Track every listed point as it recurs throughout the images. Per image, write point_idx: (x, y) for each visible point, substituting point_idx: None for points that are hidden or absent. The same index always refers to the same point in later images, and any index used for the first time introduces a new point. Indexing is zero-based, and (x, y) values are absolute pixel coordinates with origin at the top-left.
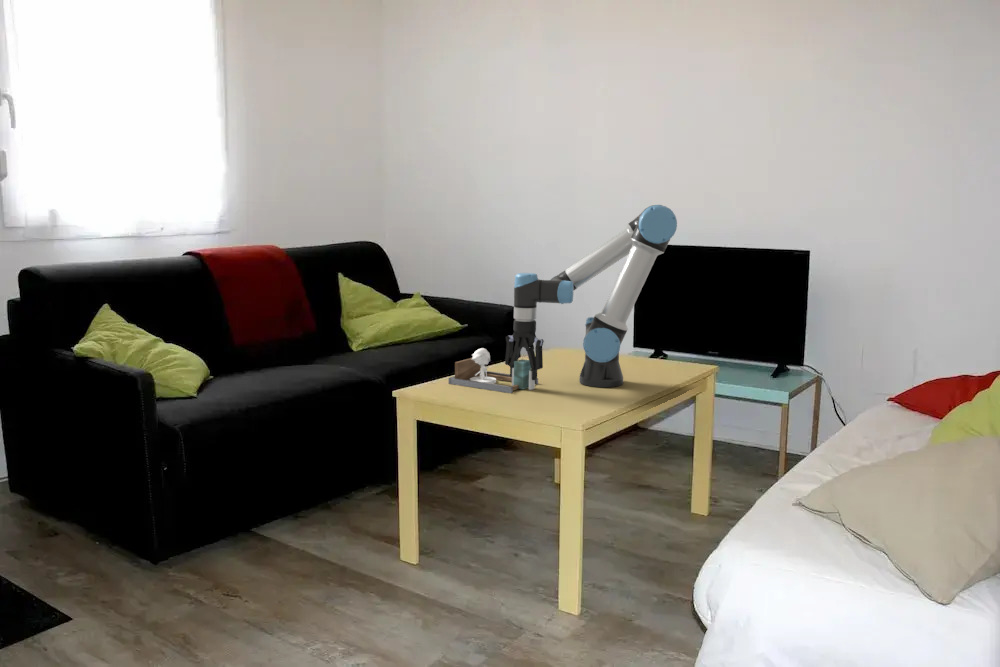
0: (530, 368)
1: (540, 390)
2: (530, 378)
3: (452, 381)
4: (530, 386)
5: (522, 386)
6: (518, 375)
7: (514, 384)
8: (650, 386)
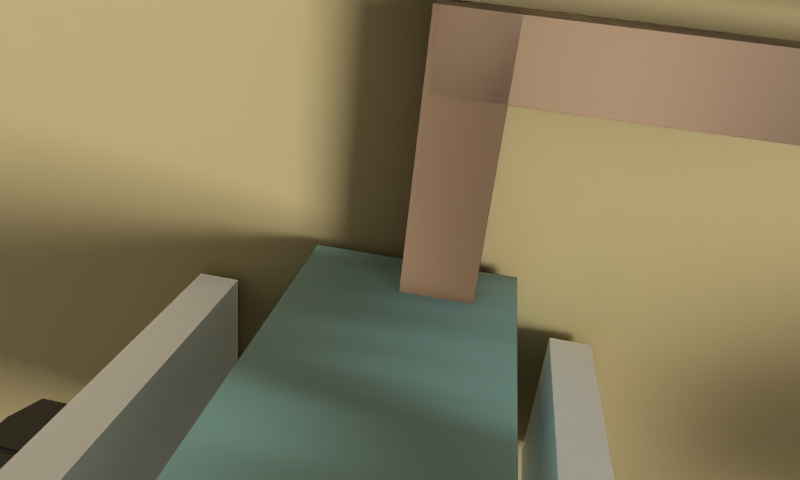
0: None
1: (93, 338)
2: (82, 399)
3: None
4: (172, 303)
5: (310, 267)
6: (362, 427)
7: (499, 308)
8: None
